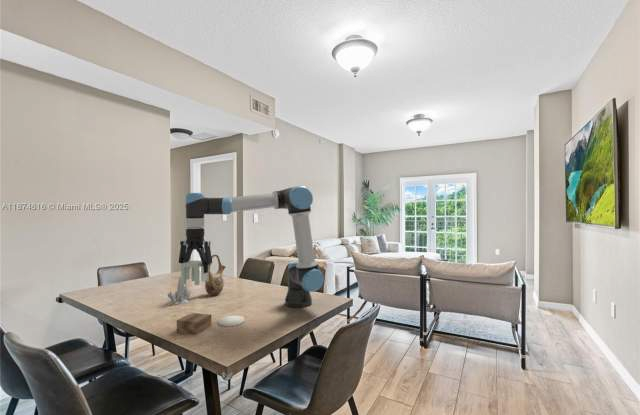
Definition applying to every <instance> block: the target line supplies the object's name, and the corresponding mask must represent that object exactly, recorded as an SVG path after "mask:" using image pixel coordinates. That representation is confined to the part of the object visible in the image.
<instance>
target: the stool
mask: <svg viewBox="0 0 640 415" xmlns="http://www.w3.org/2000/svg"><path fill="white" fill-rule="evenodd" d="M202 265H203V263H202V261H201V260H189V262H185V263H180V266H181V268H180V269H181V270H180V272H181V273H180V276H181V284H182V285H186V284H187V280H186V267H190V270H191V272H190V273H191V274H190V275H191V278H190V280H191V282H194V286H200V281H201V280H200V279H201V277H200V268H201V266H202ZM208 281H209V265H208V273H207V280H205V281H203V282H204V283H205V282H208Z"/></svg>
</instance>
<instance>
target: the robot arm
mask: <svg viewBox="0 0 640 415" xmlns="http://www.w3.org/2000/svg"><path fill="white" fill-rule="evenodd" d="M313 201H314V195H313V193H312V191H311V190H310V189H309V188H307V187H306V186H303V185H296V186H293V187H287V188H284V189H281V190H274V191H272V193H264V194H263V193H262V194H251V195H242V196H234V197H233V196H232V197H205V193H204V192H189V193H186V195H185V228H186V229H185V237H186V240H180V250H179V254H178V256H179V257H178V264H181V263H185V262H189V261H190V258H191V256H192V253H193V251H194V250H196V252H197V254H198V255H199V258H200V261H202V263H203V265H202V266H201V267H200V270H201V274H200V276H201V277H200V279H201V280H200V281H201V282H204V281H205V280H207V273H208V265H209V264H211V265H212V263H213V258H212V257H211V256H212V251H211V240H205V215H230V214H231V213H235V212H236V213H237V212H238V213H239V212H245V211H254V210H263V209H272V208H273V209H274V210H279V209H282V210H283V209H284V210H287V213H288V215H289V216H291V218H292V225H293V232H294V240H295V246H296V247H295V248H296V254H297V262H290V263H289V264H288V267H287V293H286V295H285V299H284V305H285V306H286V307H290V308H306V307H309V306H311V305H312V304H313V299H312V295H311V292H312V293H313V292H317V291H318V290H319V289H320V288H322V286H323V284H324V280H325V277H324V273H323V272H322V271H321V270H320V267H319V262H318V261H317V260H316V259H315V258H316V257H315V253H314V252H315V251H314V244H313V239H312V238H313V236H312V231H311V230H312V228H311V223H310V213H311V212H312V209H311V206H312V204H313ZM190 270H191V267H186V281H187V280H191V278H190V275H191V274H190V273H191V272H190Z"/></svg>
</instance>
